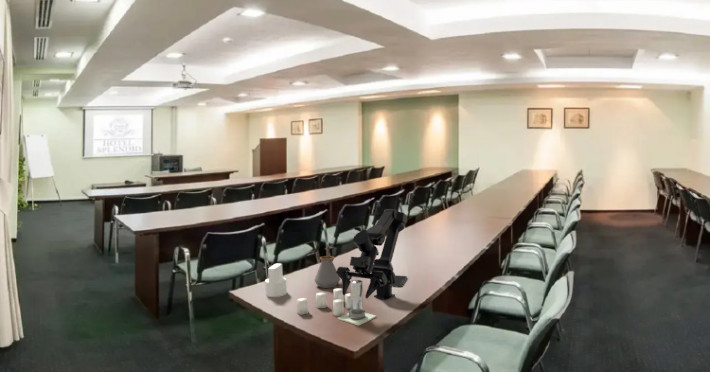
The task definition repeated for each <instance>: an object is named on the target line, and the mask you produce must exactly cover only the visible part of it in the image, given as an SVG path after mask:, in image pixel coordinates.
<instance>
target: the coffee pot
mask: <svg viewBox="0 0 710 372" xmlns="http://www.w3.org/2000/svg"><path fill="white" fill-rule="evenodd" d="M325 248H326V255H325V256H319V260H320V262H321V263H320V264H319V268H318V269H317V272H316V275H315V278H314V283H316V284H315V285H317V286H318V287H320V288H322V289H330V288H335V287H336V286H337V285H338V284H339V283H340V280H341V278H340V277H339V275H338V274H337V273H336V271H337V268H336V267H335V265H334V260H335V258H336V257H334V256H333V255H330V249H331V248H332V247H331V246H329V245H327V246H326V247H325Z"/></svg>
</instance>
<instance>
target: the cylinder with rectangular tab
mask: <svg viewBox="0 0 710 372" xmlns="http://www.w3.org/2000/svg"><path fill="white" fill-rule="evenodd" d="M267 272H268V273H267V275H268V277H267V278H266V279H265V280H264V282H265V283H264V285H265V296H266V297H269V298H279V297H282V296H285V295H287V294H288V290H287V286H288V285H287V278H286V277H284V276H283V263H274V264H273V265H270V267H269V268H267Z"/></svg>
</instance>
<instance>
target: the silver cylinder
mask: <svg viewBox="0 0 710 372" xmlns="http://www.w3.org/2000/svg"><path fill="white" fill-rule="evenodd" d="M349 286H350V292H349V293H350V294H351V309H349V310H348V313H349V318H350V319H353V320H361V319H364V318H365V313H366V311H365V309H364V300H363V299H364V298H363V297H364V295H363V289H364V288H363V281H362V280H361V279H353V280H352V279H351V280H350V285H349Z"/></svg>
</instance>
